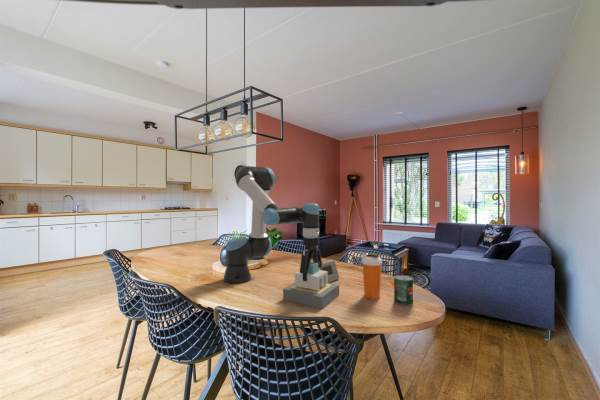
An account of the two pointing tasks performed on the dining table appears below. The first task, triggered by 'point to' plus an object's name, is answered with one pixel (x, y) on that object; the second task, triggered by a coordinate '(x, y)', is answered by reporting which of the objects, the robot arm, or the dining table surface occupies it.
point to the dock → (311, 295)
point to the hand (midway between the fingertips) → (311, 284)
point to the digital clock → (330, 270)
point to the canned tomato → (403, 290)
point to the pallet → (313, 279)
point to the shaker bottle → (372, 275)
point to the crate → (313, 268)
